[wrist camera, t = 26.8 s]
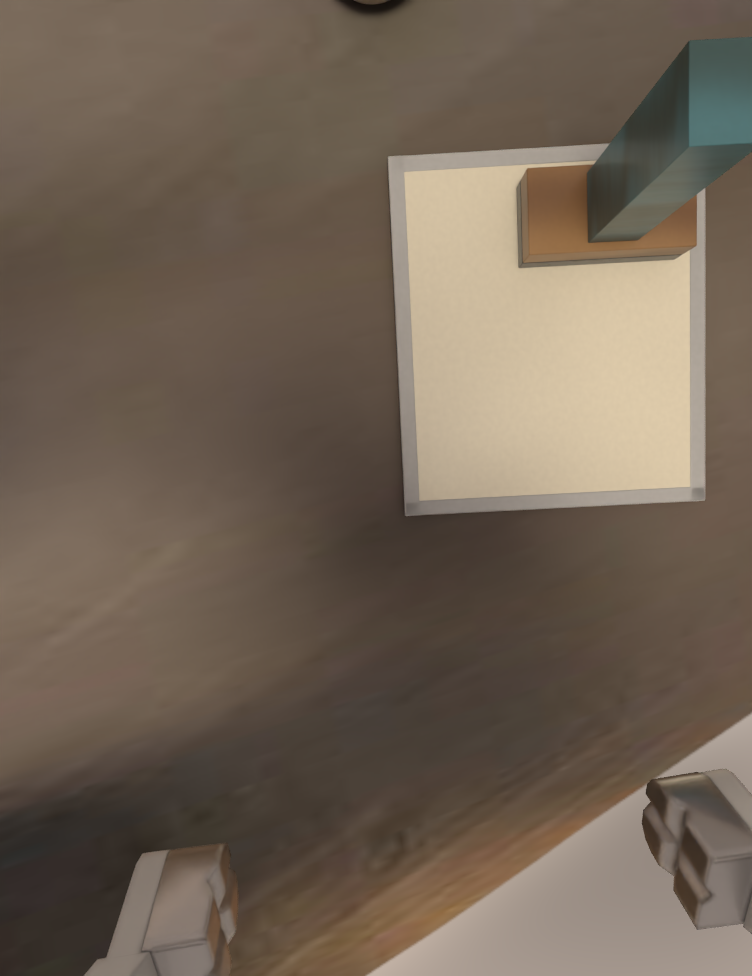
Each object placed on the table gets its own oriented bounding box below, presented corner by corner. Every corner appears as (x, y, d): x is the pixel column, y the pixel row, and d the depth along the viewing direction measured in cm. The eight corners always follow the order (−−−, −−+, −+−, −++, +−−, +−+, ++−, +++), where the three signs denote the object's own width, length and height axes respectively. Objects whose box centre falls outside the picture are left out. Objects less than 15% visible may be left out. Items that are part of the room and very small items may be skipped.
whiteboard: (698, 499, 36) (705, 500, 36) (404, 514, 37) (405, 516, 36) (697, 144, 34) (705, 136, 34) (387, 162, 35) (387, 156, 34)
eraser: (674, 260, 34) (852, 150, 21) (518, 268, 34) (601, 164, 22) (674, 178, 34) (856, 16, 21) (516, 187, 34) (599, 31, 21)
